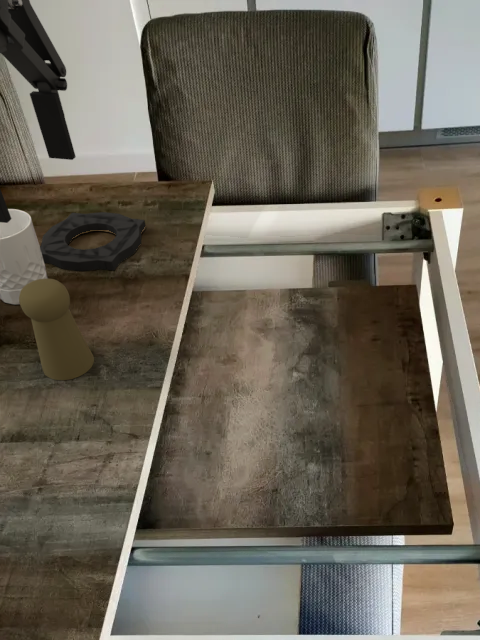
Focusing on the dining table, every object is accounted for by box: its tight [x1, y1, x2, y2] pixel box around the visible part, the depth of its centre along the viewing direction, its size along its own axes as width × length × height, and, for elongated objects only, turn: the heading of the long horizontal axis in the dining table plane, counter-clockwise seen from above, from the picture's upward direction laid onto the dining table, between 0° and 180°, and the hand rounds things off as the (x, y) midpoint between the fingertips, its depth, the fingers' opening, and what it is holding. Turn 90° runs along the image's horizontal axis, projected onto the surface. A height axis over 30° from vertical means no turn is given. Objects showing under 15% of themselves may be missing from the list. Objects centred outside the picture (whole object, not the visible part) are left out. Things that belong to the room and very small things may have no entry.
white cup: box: [0, 208, 49, 306], centre depth 86 cm, size 8×8×10 cm
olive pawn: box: [19, 278, 95, 381], centre depth 75 cm, size 6×6×11 cm
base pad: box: [39, 211, 147, 272], centre depth 97 cm, size 14×14×2 cm
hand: (31, 186), depth 66 cm, fingers open, 13 cm apart
